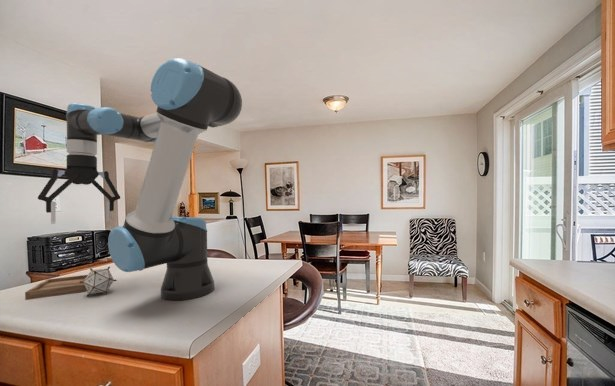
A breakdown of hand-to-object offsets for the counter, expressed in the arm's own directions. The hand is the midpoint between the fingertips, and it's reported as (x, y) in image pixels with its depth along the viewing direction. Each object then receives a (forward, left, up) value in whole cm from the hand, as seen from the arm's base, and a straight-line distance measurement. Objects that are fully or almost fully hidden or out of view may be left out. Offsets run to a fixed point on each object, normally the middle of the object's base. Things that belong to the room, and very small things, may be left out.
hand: (81, 222), depth 91 cm
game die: (-4, -5, -23) cm, 23 cm away
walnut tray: (+9, +7, -22) cm, 25 cm away
